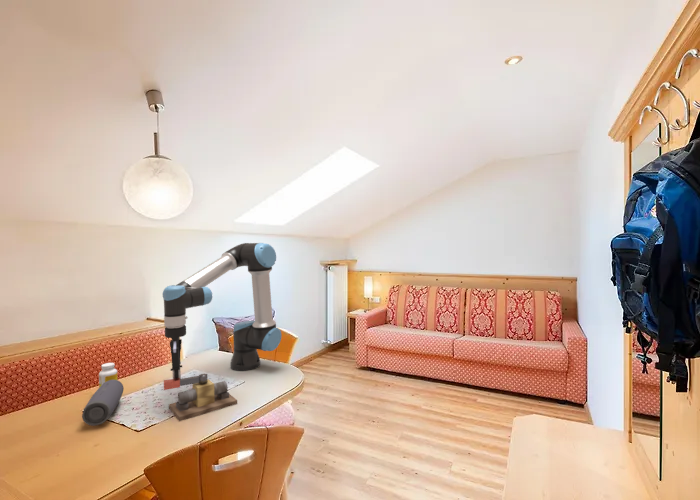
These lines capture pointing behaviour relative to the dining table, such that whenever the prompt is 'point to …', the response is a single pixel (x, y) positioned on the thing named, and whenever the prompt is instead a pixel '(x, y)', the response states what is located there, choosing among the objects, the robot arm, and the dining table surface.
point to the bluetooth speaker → (103, 403)
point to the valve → (202, 400)
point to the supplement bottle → (107, 373)
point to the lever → (185, 381)
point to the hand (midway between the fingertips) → (176, 385)
